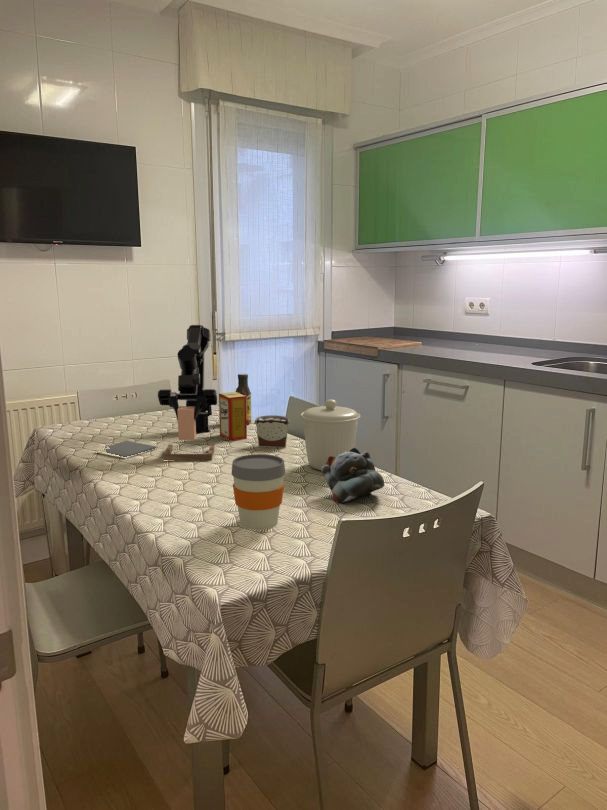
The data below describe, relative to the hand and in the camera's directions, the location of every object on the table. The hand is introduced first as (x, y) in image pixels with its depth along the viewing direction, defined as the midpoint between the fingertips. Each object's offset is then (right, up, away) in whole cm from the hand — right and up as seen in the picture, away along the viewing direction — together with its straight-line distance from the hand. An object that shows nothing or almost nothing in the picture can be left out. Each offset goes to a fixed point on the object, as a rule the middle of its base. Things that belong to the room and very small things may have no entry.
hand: (186, 419), depth 198 cm
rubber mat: (-22, -11, +9) cm, 26 cm away
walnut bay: (0, -12, +4) cm, 13 cm away
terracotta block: (0, -6, +3) cm, 7 cm away
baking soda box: (+12, -7, +28) cm, 31 cm away
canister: (+46, -15, -7) cm, 49 cm away
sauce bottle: (+14, -3, +49) cm, 51 cm away
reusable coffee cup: (+27, -23, -51) cm, 62 cm away
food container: (+27, -10, +17) cm, 34 cm away
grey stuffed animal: (+50, -20, -34) cm, 64 cm away
